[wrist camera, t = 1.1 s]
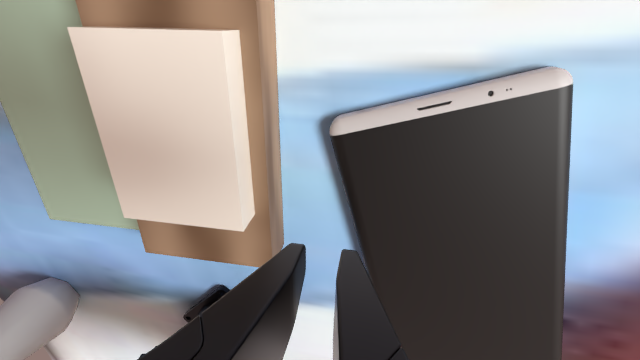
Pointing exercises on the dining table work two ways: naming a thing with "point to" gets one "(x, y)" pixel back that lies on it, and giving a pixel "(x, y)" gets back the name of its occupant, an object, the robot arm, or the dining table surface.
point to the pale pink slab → (171, 121)
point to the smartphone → (465, 214)
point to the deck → (261, 110)
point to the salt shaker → (35, 317)
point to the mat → (55, 113)
